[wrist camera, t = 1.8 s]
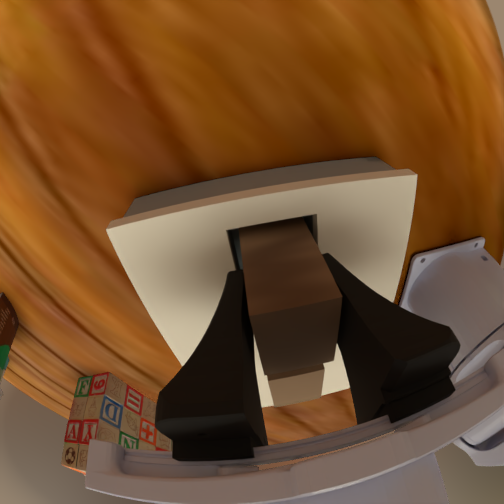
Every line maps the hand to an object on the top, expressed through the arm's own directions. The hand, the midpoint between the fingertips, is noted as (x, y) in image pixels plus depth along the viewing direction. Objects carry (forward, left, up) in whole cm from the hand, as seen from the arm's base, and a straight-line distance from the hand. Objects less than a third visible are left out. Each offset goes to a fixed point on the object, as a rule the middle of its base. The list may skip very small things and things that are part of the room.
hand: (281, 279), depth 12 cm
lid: (0, +6, -2) cm, 7 cm away
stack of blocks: (+19, +25, -5) cm, 32 cm away
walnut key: (0, 0, -4) cm, 4 cm away
